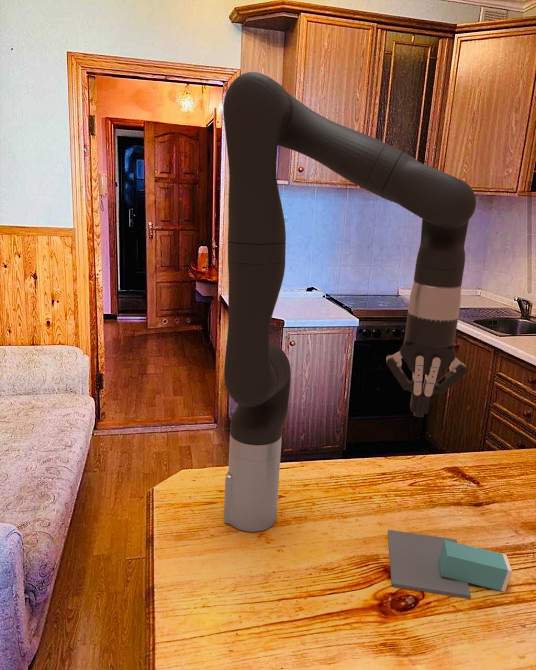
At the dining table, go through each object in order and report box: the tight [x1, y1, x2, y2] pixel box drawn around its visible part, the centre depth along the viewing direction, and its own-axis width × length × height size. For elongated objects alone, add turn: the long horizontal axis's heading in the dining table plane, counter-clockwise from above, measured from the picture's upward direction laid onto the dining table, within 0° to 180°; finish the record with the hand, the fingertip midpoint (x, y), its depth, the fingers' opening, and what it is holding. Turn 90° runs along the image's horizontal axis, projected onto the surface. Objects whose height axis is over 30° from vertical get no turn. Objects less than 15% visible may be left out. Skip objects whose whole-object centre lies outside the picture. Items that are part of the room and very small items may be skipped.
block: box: [438, 540, 513, 593], centre depth 91 cm, size 4×4×10 cm
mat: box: [387, 529, 471, 600], centre depth 95 cm, size 12×14×1 cm
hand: (418, 414), depth 92 cm, fingers closed
